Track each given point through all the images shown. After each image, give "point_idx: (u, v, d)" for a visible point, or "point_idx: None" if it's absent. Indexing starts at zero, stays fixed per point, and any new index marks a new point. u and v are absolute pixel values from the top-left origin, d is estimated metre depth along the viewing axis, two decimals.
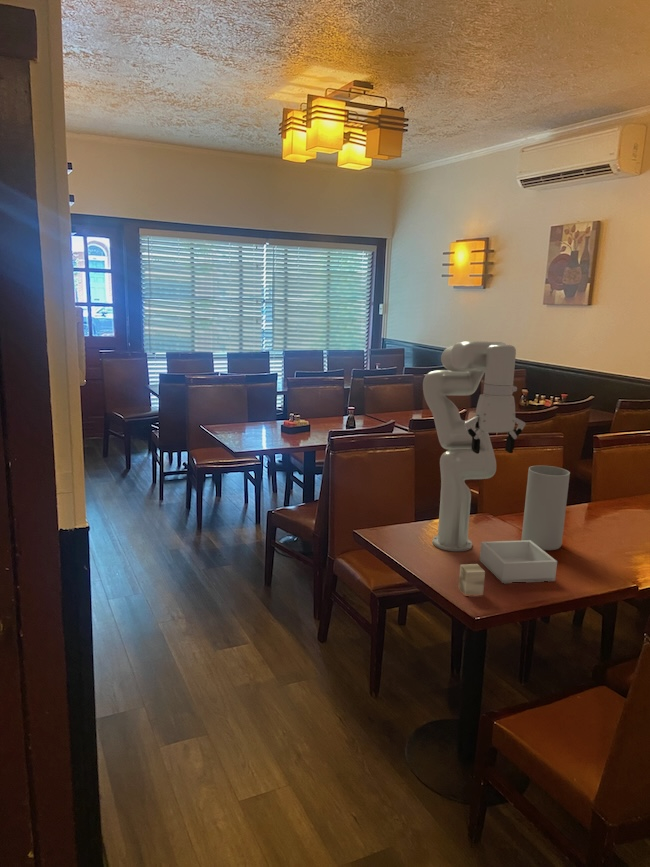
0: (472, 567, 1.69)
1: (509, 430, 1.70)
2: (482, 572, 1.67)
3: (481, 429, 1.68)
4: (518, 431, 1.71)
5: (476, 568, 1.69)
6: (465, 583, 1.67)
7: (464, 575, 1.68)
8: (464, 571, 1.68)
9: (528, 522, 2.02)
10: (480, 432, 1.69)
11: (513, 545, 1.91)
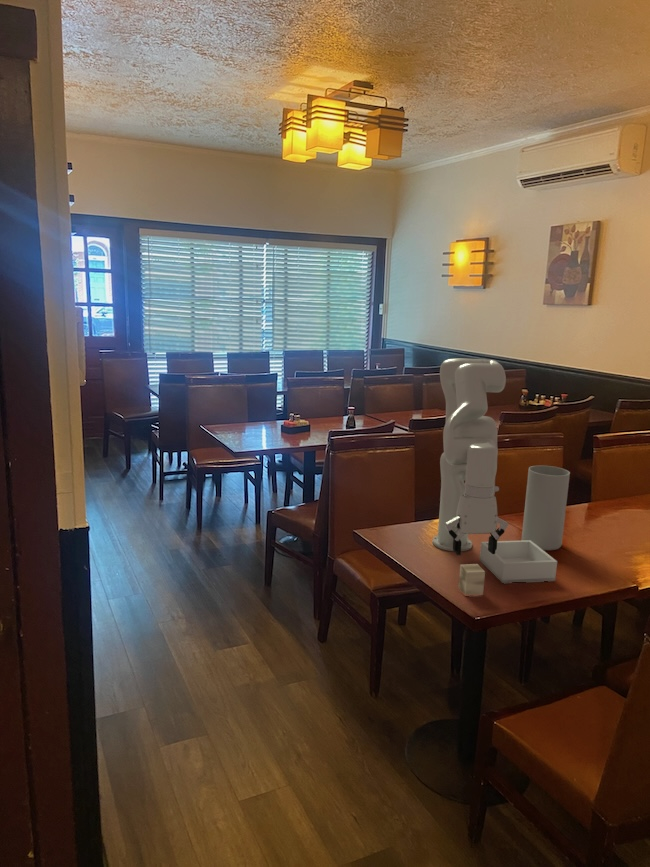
0: (472, 567, 1.69)
1: (491, 531, 1.65)
2: (482, 572, 1.67)
3: (462, 531, 1.63)
4: (501, 531, 1.66)
5: (476, 568, 1.69)
6: (465, 583, 1.67)
7: (464, 575, 1.68)
8: (464, 571, 1.68)
9: (528, 522, 2.02)
10: (461, 534, 1.64)
11: (513, 545, 1.91)
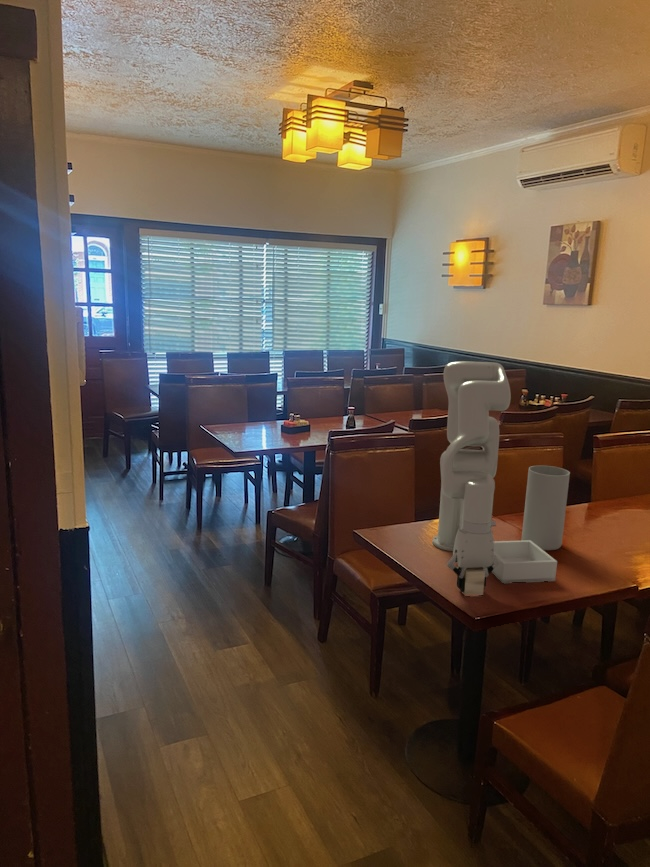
0: None
1: (488, 565, 1.67)
2: (482, 572, 1.67)
3: (459, 565, 1.66)
4: (490, 569, 1.69)
5: (477, 568, 1.69)
6: (465, 583, 1.67)
7: (464, 575, 1.68)
8: None
9: (528, 522, 2.02)
10: (463, 570, 1.67)
11: (513, 545, 1.91)
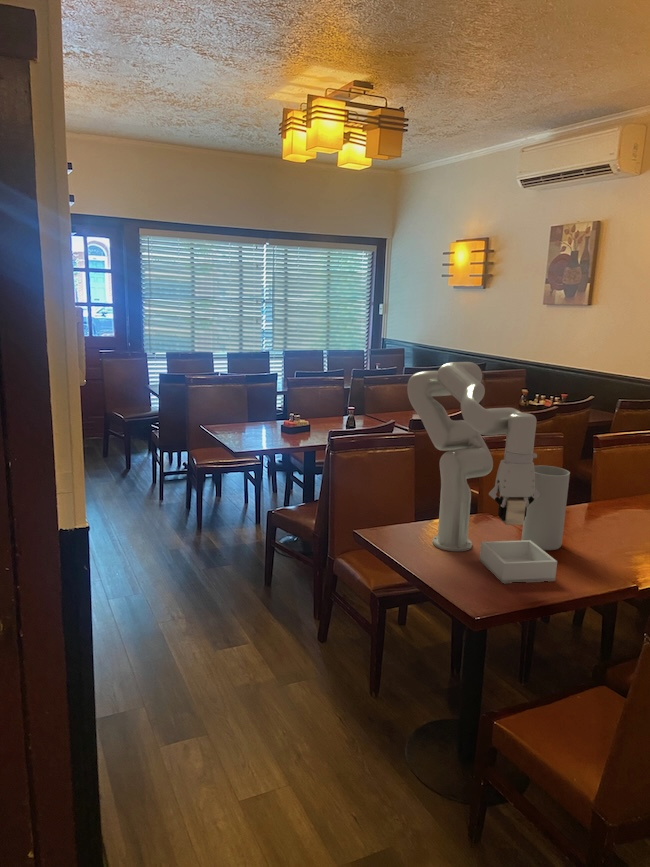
0: None
1: (528, 495, 1.75)
2: (523, 502, 1.75)
3: (501, 494, 1.74)
4: (530, 499, 1.77)
5: (518, 498, 1.77)
6: (506, 512, 1.75)
7: (506, 505, 1.76)
8: None
9: (528, 522, 2.02)
10: (505, 500, 1.75)
11: (513, 545, 1.91)
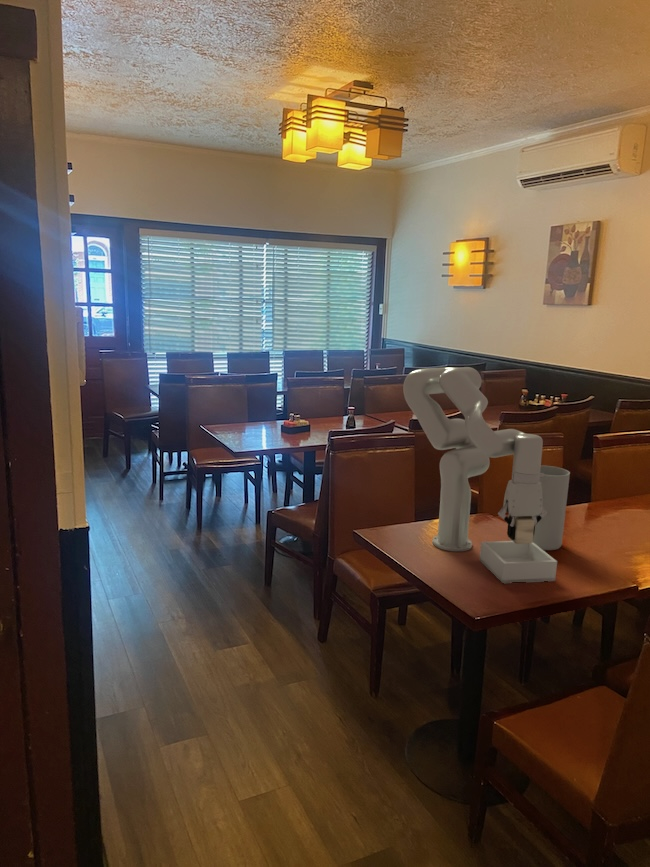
0: None
1: (537, 514, 1.80)
2: (532, 520, 1.79)
3: (510, 514, 1.78)
4: (538, 518, 1.81)
5: (526, 517, 1.81)
6: (516, 531, 1.79)
7: (515, 524, 1.80)
8: None
9: None
10: (514, 519, 1.79)
11: (513, 545, 1.91)
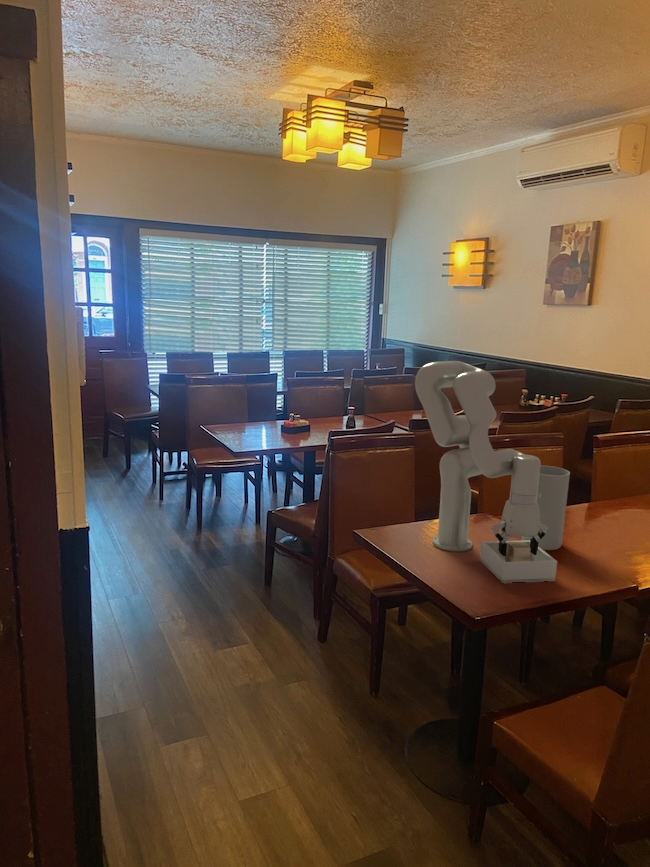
0: (518, 544, 1.84)
1: (534, 534, 1.81)
2: (528, 548, 1.81)
3: (508, 534, 1.80)
4: (541, 534, 1.83)
5: (522, 545, 1.83)
6: (512, 558, 1.82)
7: (511, 551, 1.82)
8: (511, 547, 1.82)
9: None
10: (507, 537, 1.80)
11: None
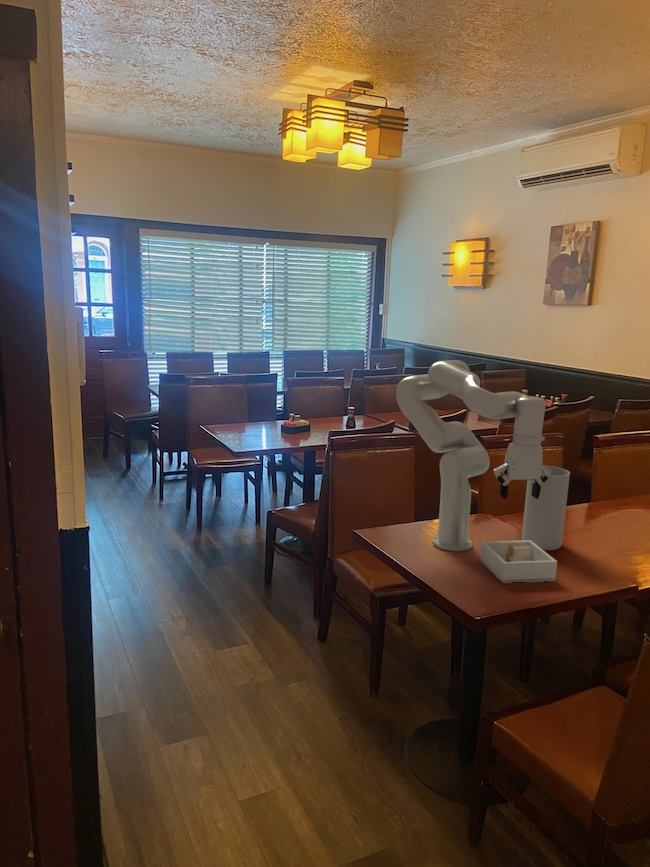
0: (518, 544, 1.84)
1: (536, 477, 1.78)
2: (528, 548, 1.81)
3: (510, 476, 1.77)
4: (544, 478, 1.80)
5: (522, 545, 1.83)
6: (512, 558, 1.82)
7: (511, 551, 1.82)
8: (511, 547, 1.82)
9: (528, 522, 2.02)
10: (509, 479, 1.78)
11: None
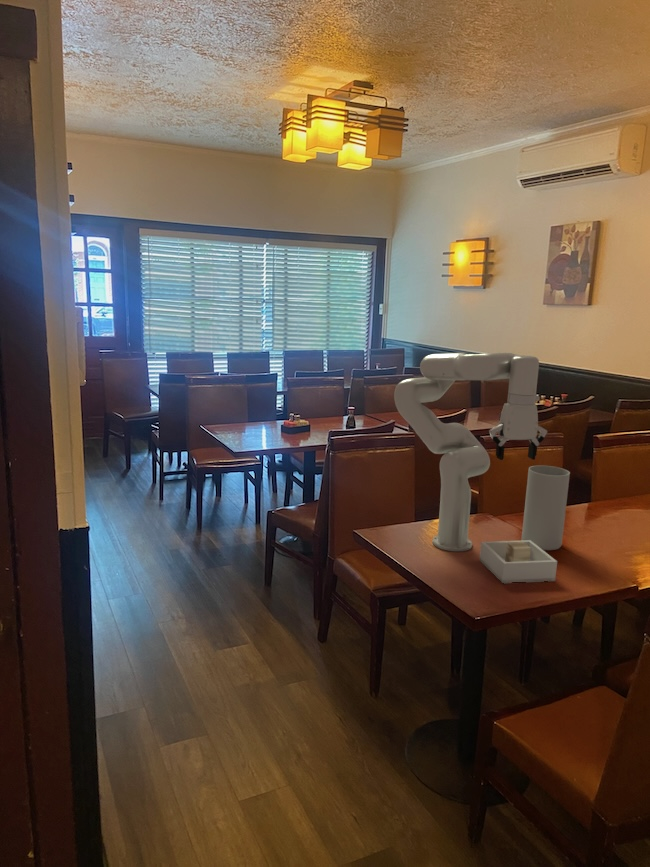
0: (518, 544, 1.84)
1: (532, 437, 1.78)
2: (528, 548, 1.81)
3: (505, 437, 1.76)
4: (540, 438, 1.79)
5: (522, 545, 1.83)
6: (512, 558, 1.82)
7: (511, 551, 1.82)
8: (511, 547, 1.82)
9: (528, 522, 2.02)
10: (504, 439, 1.77)
11: None
